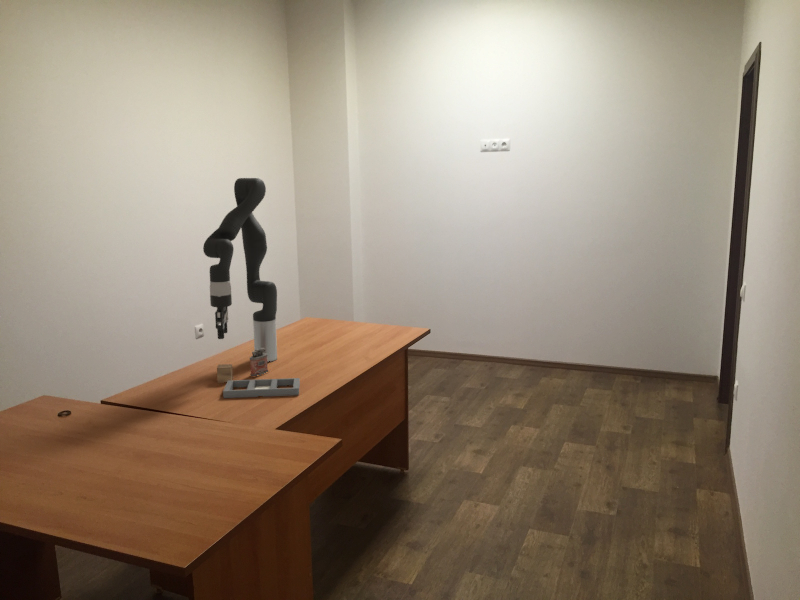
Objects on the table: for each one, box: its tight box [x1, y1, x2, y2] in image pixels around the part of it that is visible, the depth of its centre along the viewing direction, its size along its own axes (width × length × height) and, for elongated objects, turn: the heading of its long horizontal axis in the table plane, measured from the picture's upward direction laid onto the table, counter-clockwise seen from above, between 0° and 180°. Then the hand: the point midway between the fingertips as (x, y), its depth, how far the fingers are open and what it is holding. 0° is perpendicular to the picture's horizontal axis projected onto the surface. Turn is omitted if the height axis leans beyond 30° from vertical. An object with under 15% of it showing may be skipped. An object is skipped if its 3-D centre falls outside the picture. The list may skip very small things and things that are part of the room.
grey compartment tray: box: [222, 377, 301, 399], centre depth 230 cm, size 12×26×2 cm, turn 97°
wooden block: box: [216, 363, 234, 384], centre depth 241 cm, size 4×5×6 cm
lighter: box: [249, 348, 269, 377], centre depth 249 cm, size 8×3×10 cm, turn 143°
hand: (222, 335), depth 238 cm, fingers open, 8 cm apart
